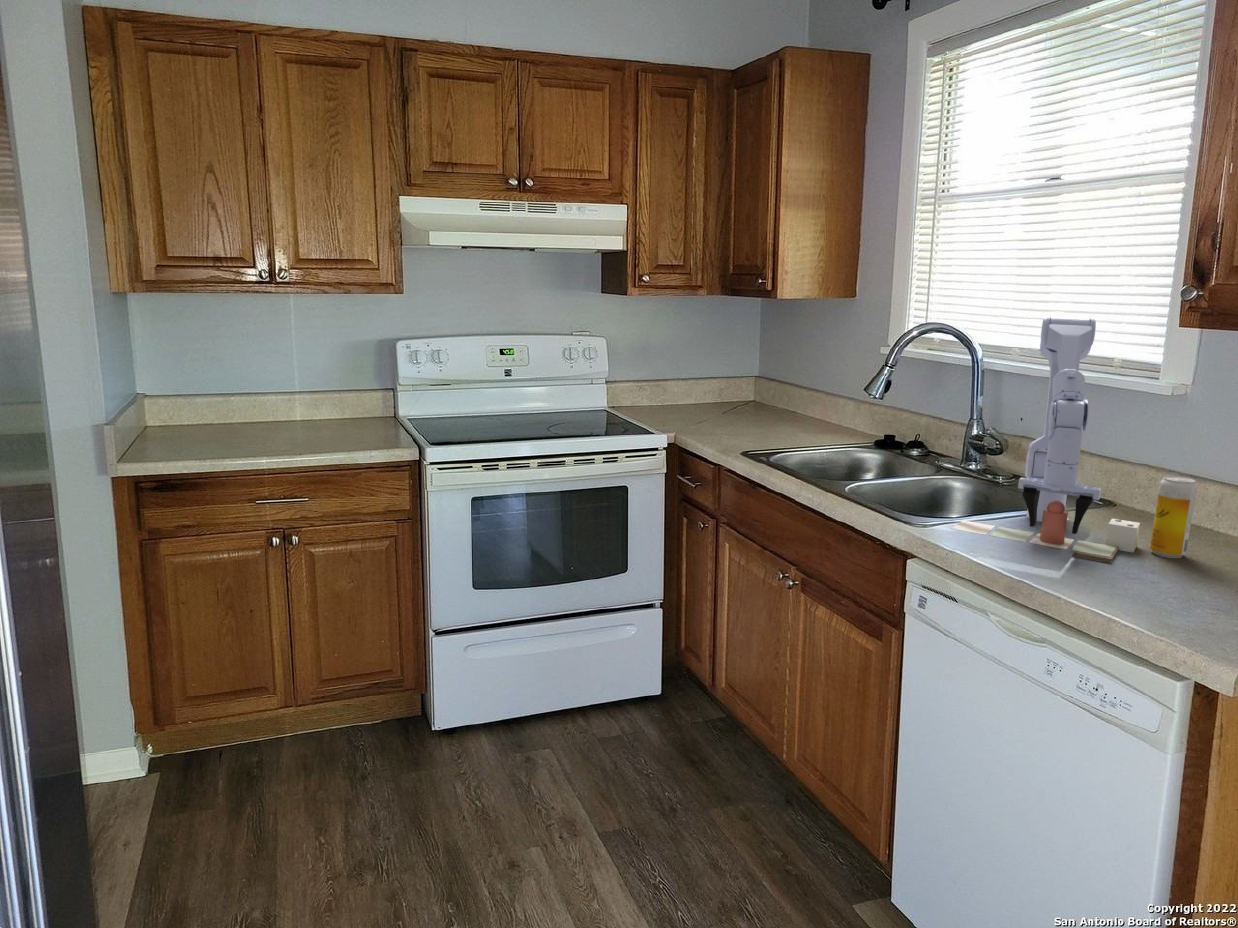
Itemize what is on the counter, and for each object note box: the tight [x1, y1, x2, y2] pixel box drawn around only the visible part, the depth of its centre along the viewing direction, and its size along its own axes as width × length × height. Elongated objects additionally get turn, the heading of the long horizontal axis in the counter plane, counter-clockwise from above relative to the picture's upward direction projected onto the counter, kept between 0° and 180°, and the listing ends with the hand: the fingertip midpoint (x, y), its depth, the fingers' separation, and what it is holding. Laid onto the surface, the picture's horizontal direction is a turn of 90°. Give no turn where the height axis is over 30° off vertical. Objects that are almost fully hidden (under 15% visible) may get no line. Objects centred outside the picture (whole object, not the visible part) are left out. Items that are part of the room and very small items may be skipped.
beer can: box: [1149, 475, 1198, 559], centre depth 180 cm, size 6×6×15 cm
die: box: [1104, 518, 1141, 553], centre depth 185 cm, size 5×5×5 cm
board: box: [950, 519, 1120, 564], centre depth 186 cm, size 10×30×1 cm, turn 55°
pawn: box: [1040, 500, 1069, 544], centre depth 183 cm, size 4×4×8 cm
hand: (1053, 529), depth 184 cm, fingers open, 7 cm apart
